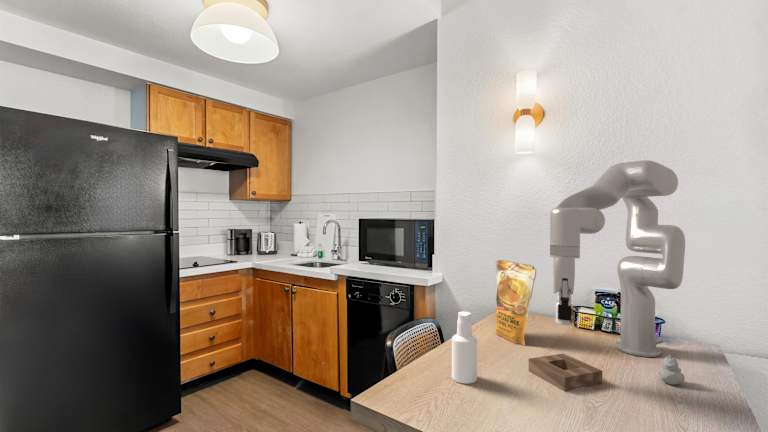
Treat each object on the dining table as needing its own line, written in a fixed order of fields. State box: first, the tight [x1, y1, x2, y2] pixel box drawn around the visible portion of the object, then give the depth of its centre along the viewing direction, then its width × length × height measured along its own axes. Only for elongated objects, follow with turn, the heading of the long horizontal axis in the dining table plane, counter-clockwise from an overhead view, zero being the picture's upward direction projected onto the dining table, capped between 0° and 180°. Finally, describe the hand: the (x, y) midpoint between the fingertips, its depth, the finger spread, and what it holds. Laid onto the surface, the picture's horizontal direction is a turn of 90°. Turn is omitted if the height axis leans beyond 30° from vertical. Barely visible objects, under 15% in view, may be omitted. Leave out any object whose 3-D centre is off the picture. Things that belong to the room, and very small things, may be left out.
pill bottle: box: [555, 294, 574, 326], centre depth 100 cm, size 4×4×8 cm
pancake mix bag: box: [494, 259, 537, 346], centre depth 133 cm, size 7×19×28 cm, turn 20°
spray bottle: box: [451, 311, 478, 385], centre depth 99 cm, size 7×7×18 cm
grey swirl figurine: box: [658, 354, 685, 386], centre depth 97 cm, size 5×7×8 cm
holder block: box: [528, 353, 603, 392], centre depth 100 cm, size 13×13×4 cm
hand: (564, 316), depth 100 cm, fingers closed on pill bottle, 4 cm apart
